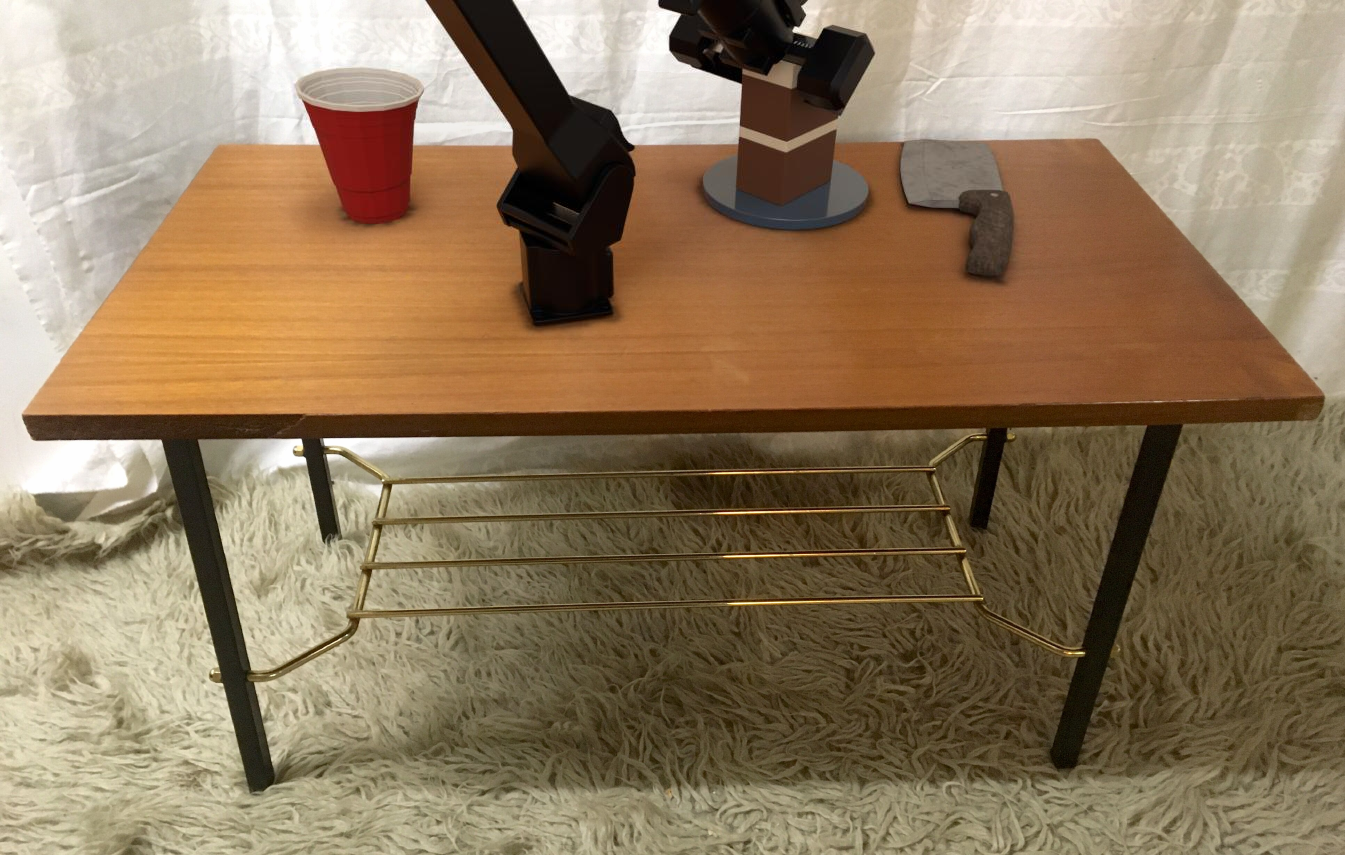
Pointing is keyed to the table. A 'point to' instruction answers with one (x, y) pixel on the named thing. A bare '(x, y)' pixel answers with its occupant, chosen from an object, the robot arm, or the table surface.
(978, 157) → the cleaver
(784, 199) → the cake slice
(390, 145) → the plastic cup
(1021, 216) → the table surface
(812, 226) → the plate
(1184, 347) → the table surface
